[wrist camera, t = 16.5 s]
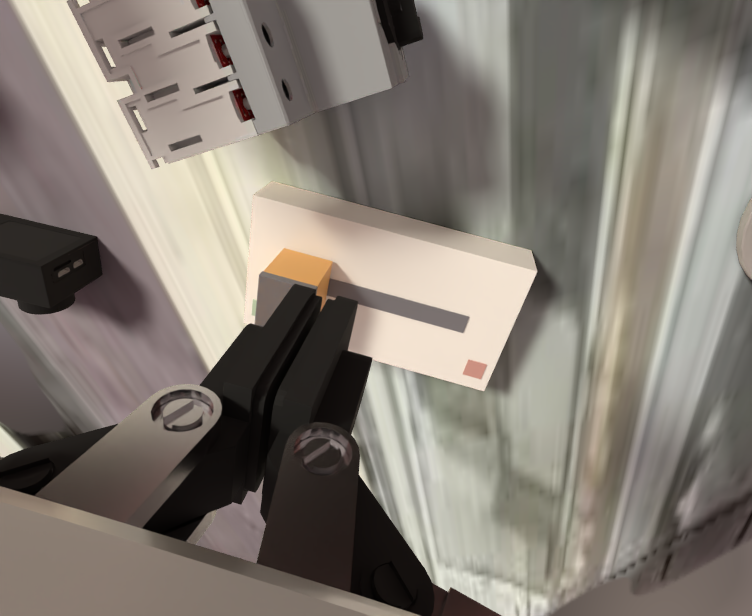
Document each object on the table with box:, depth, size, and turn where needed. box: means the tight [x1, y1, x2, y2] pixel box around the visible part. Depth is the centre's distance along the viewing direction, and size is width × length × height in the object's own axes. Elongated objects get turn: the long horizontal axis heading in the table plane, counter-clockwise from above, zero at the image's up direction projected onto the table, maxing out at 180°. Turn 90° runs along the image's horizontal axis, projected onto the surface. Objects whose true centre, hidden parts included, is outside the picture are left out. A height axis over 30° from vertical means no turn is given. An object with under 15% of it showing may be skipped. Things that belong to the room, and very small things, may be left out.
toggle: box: [255, 248, 333, 327], centre depth 36 cm, size 4×5×5 cm
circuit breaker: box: [67, 0, 423, 169], centre depth 27 cm, size 8×14×15 cm, turn 107°
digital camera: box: [0, 214, 102, 314], centre depth 43 cm, size 10×5×7 cm, turn 80°
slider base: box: [244, 181, 537, 391], centre depth 40 cm, size 22×12×4 cm, turn 78°
